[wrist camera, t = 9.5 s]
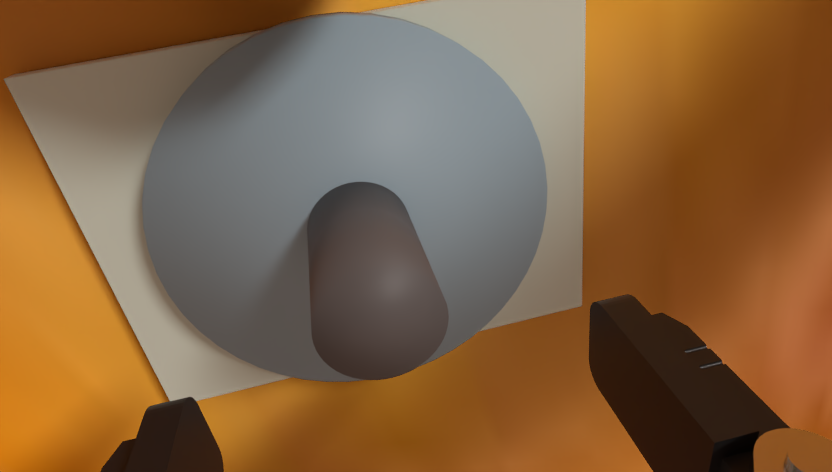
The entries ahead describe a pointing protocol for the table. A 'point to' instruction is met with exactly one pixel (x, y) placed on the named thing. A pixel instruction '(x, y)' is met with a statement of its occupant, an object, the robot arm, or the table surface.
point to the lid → (344, 197)
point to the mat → (179, 67)
